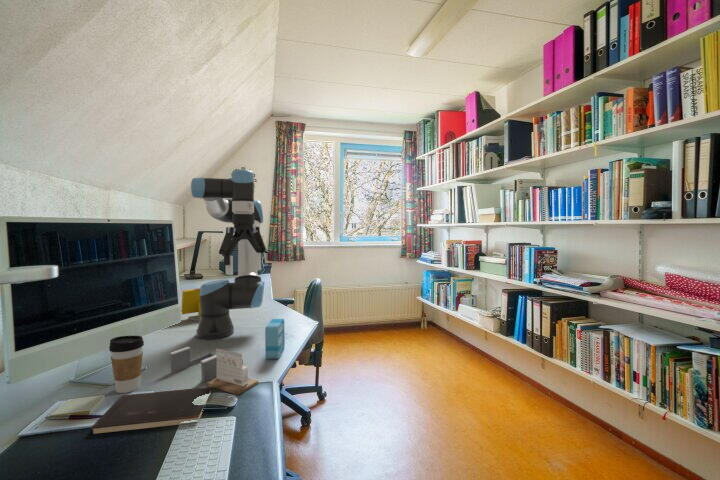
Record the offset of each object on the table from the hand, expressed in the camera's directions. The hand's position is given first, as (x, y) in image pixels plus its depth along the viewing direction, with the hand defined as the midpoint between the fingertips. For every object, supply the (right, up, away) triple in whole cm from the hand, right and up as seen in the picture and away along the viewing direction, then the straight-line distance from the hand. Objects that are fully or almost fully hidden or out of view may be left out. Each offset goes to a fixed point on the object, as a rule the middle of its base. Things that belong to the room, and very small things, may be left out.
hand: (244, 272), depth 127 cm
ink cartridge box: (+4, -31, -22) cm, 38 cm away
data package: (+11, -31, +3) cm, 33 cm away
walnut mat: (+4, -32, -22) cm, 39 cm away
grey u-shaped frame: (-9, -31, -10) cm, 34 cm away
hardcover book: (-10, -33, -37) cm, 51 cm away
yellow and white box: (-38, -28, +52) cm, 70 cm away
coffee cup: (-26, -32, -24) cm, 48 cm away
